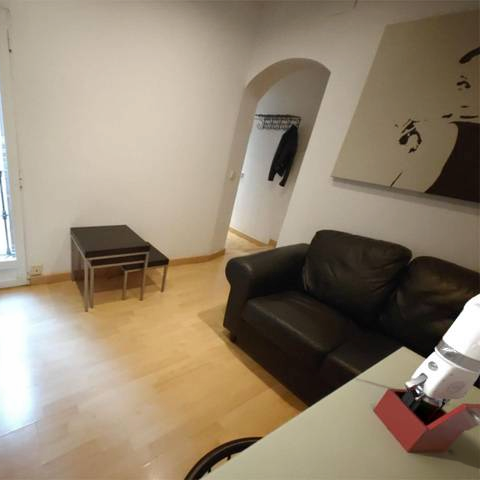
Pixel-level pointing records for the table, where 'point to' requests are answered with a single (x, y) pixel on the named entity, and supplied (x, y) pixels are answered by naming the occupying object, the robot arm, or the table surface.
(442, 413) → the red open box
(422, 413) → the beer can
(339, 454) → the table surface
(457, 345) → the robot arm
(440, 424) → the lid
